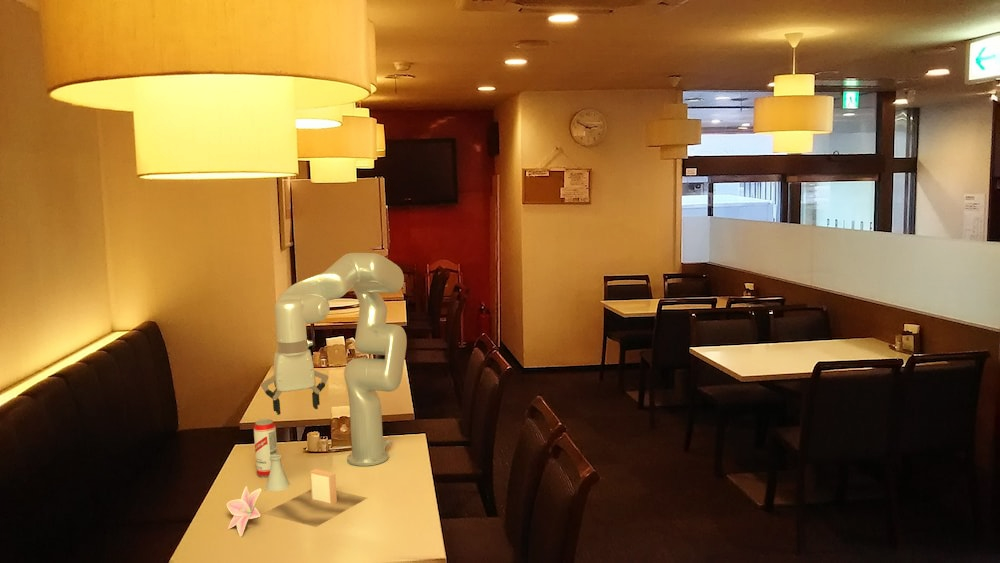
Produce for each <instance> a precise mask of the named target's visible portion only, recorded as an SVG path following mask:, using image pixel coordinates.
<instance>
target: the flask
mask: <svg viewBox="0 0 1000 563" xmlns="http://www.w3.org/2000/svg"><path fill="white" fill-rule="evenodd" d="M269 459H270V460H271V469H270V474H269V477H267V482H266V485H265V489H264V491H265V492H266V491H269V492H280V491H285V490H286V489H288V488H289V486H290V484H291V483H290V481H289V480H288V478H287V475H286V474H285V471H284V469H283V465H282V461H281V460H282V455H281V454H278V455H272V456H270V458H269Z"/></svg>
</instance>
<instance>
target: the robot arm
mask: <svg viewBox="0 0 1000 563" xmlns="http://www.w3.org/2000/svg"><path fill="white" fill-rule="evenodd" d="M404 283H405V276H404V273H403V270H402V269H401V267H400V266H398V264H396V263H394V262H393V261H391V260H390V259H388V258H387V257H385V256H383V255H381V254H380V253H376V252H375V253H374V252H350V253H346V254H343V256H341V257H340V258H339V259H337V260H336V261H335V262H334V263H333V264H332V265H330V266H329V267H328V268H327V269H326V270H325V271H324V272H322V273H319V274H316V275H313V276H310V277H308V278H305V279H302V280H300V281H298V282H295V283H294V284H292V285H291V286H290V287H288V288H287V289H286V290H284V291H283V292H282V293H281V294H280V295H279V297H278V299H277V301H276V303H275V304H274V318H275V331H276V332H275V333H276V343H277V347H276V348H277V351H276V352H274V355H273V356H274V357H273V375H272V376H271V377H269V378H268V379H266V380H264V381H263V382H261V383H260V387H261V388H262V390H263V391H264V394H266V396H268V397H269V398H270V399H271V400H272V404H273V405H272V409H273V411H274V412H275V413H276V415H278V416H280V415H281V413H282V412H281V402H280V399H279V397H280V396H281V394H282V393H286V392H287V393H288V392H296V391H300V390H308V389H311V390H312V393H311V395H312V396H311V398H312V407H313V408H314V409H315V410H318V409H319V408H318V406H320V405H321V404H320V395H321V392H322V391H323V389H325V387H326V384H327V382H328V379H329V376H328V374H325V373H324V372H323V373H322V372H320V371H317V370H315V368H314V361H313V357H312V356H313V355H312V352H311V349H309V347H311V346H313V345H314V341H313V340H310V339H308V336H307V325H309V324H318V323H320V322H322V321H324V320H325V319H326V318H327V317H328V316H329V313H330V310H331V309H330V308H331V307H330V303H329V301H333V300H338V299H339V298H342V297H343V296H345V295H346V294H347V293H348V291H350V290H351V289H353V292H354V294H355V296H356V299H357V301H358V305H359V306H358V307H359V310H358V311H359V312H358V318H357V325H356V330H355V338H354V346H355V349H356V351H357V352H359V353H360V354H363V355H364V354H366V355H375V356H376V355H377V356H384V358H371V357H369V358H368V357H356V358H353V359H351V360H350V361H349V360H348V362H347V363H346V364H345V367H344V381H345V385H346V389H347V394H348V402H349V403H348V404H349V420H350V421H349V422H350V439H351V453H349V454H348V455H347V457H346V459H347V460H346V461H347V462H348V464H350V465H353V466H359V467H360V466H361V467H367V466H368V467H369V466H374V465H380V464H382V463H384V462H386V461H387V460H389V455H390V454H389V452H388V451H386V448H387V447H388V446H391V445H392V442H393V441H392V439H390V438H387V439H385V440H384V439H383V438H384V436H383V435H384V434H383V433H384V432H383V418H382V415H383V414H382V402H381V398H380V396H379V394H378V392H394V391H396V390H398V388H399V387H400V386H401V383H402V380H403V372H404V367H405V366H404V365H405V358H406V352H407V343H408V342H407V340H408V339H407V334H406V332H405V329H404V328H403V327H402V326H401V325H399V324H394V323H387V314H388V308H387V304H386V302H385V300H384V298H383V297H382V296H381V294H396V293H398V292H400V291H401V290H402V288H403V286H404ZM316 377H317V378H319V379H321V380H320V382H319V383H318V384H317V385H316ZM272 384H274V388H275V389H274V390H273V391H272V390H270V388H269V386H271V385H272Z"/></svg>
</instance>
